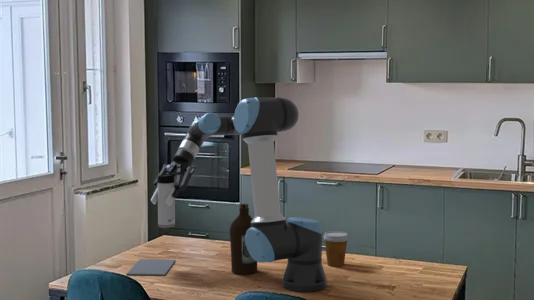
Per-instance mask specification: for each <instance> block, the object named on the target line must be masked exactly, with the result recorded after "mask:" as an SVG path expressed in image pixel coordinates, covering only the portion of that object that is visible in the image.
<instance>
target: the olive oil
mask: <svg viewBox="0 0 534 300" xmlns="http://www.w3.org/2000/svg"><path fill="white" fill-rule="evenodd" d="M249 212H250V208H249V204H248V203H240V204H239V214H238V215H237V217H236V218H235V219H234V220H233V221H232V222H231V224H230V227H229V239H230V243H229V244H230V258H231V259H230V261H231V263H230V265H231V272H232V273H233V274H236V275H240V276H245V275H246V276H247V275H249V276H250V275H253V274H256V273H257V272H258V262H257V261H255V260H254V259H253V258H252V257H251V255H250V254H249V252H248V250H247V247H246V242H245V235H246V232H247V230H248V229H249V228H251V221H252V220H253V219H254V218H252V216H251V215H250V213H249Z"/></svg>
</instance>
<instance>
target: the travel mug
mask: <svg viewBox="0 0 534 300" xmlns="http://www.w3.org/2000/svg"><path fill="white" fill-rule="evenodd" d="M158 175H159V174H158ZM158 175H157V176H158ZM175 176H176V175H175V173H173V174H163V175H159V176H158V200H157V226H158V227H159V228H161V229H170V228H174V227H175V226H176V206H175V205H176V198H174V200H173V202H172V204H171V206H168V205H167V203H166V200H167V198H168V196H169V194H170V192H171V190H172V189H173V188H175V185H176V181H175Z"/></svg>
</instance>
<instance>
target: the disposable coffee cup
mask: <svg viewBox="0 0 534 300" xmlns="http://www.w3.org/2000/svg"><path fill="white" fill-rule="evenodd" d="M322 239H323V240H324V246H325V256H326V264H327V266H329V267H334V268H339V267H341V268H342V267H344V266H345V260H346V254H347V253H346V251H347V245H348V239H349V236H348V233H347V232H344V231H337V230H336V231H326V232H324V235H323V236H322Z"/></svg>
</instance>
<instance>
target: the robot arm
mask: <svg viewBox="0 0 534 300" xmlns="http://www.w3.org/2000/svg"><path fill="white" fill-rule="evenodd" d="M299 114H300V113H299V110H298V107H297V106H296V104H295V103H294V102H293V101H292V100H290V99H288V98H285V97H279V96H278V97H248V98H244V99H241V100H240V101H239V102H238V104H237V106H236V108H235V111H234V115H217V113H213V112H207V113H205V114H203V115H202V116H200V118H199V119H197V120H196V119H195V120H194V121H192V123H191V125H189V127H188V130H187V132H186V134H185V136H184V138H183V139H182V141H181V143H180V145H179V146H178V148H177V151H176V152H175V154H174V156H173V158H172V159H173V160H172V162H171V163H170V164H166V163H164V164H163V165H162V168H161V170H160V172H159V174H158V175H157V176H156V178H155V180H154V181H153V185H154V186H155V188H154V190H153V192H152V194H153V195H152V196H151V198H150V202H151V203H152V204H153V205H156V204H157V203H158V176H159V175H163V174H173V173H175V176H176V180H175V188H173V189H172V190H171V192H170V194H169V196H168V198H167V200H166V203H167V205H168V206H171V204H172V202H173V200H174V198H175V199H177V197H178V195H179V193H180V192H181V191H183V192H184V191H186V189H187V188H188V185H189V182H190V180H191V177H192V175H193V174H194V173H195V171H196V170H195V169H194V167H193V166H192V165H193V163H194V162H195V159H196V157H197V155H198V153H199V152H200V150H201V148H202V146H203V143H204V142H205V141H206V140H208V138H210V137H214V136H215V137H216V136H234V135H235V136H242V140H243V141H244V142H245V144H247V147H248V148H247V149H248V157H249V159H248V160H249V167H250V169H249V170H250V171H249V172H250V178H251V179H250V180H251V181H250V182H251V189H252V200H253V210H254V217H253V218H252V219H253V220H252V221H251V228H249V229H248V230H247V232H246V235H245V242H246V247H247V250H248V252H249V254H250V255H251V257H252V258H253V259H254V260H255V261H257V263H259V264H260V263H273V262H276V261H282V260H287V263H286V267H285V270H284V273H283V276H282V278H281V279H282V282H281V283H282V284H281V285H282V287H283V288H285V289H286V290H289V291H294V292H303V293H304V292H305V293H306V292H307V293H308V292H309V293H310V292H316V291H322V290H324V289H326V288H327V285H328V284H327V283H328V281H327V280H328V279H327V275H326V271H325V270H324V267H323V264H322V262H323V261H322V256H323V250H322V249H323V242H322V240H323V229H322V228H323V227H322V223H321V222H320V221H319V220H317V219H314V218H307V217H301V216H300V217H299V216H297V217H296V216H293V217H292V216H291V217H287V219H286V217H285V216H284V215H283V214H282V213H281V204H280V195H279V186H278V185H279V184H278V174H277V173H278V172H277V163H276V154H275V144H274V142H275V140H277V138H278V135H279V134H278V133H279V132H280V133H281V132H287V131H289V130H291V129H293V128H294V127H295V126H296V125H297V122H298V121H299Z"/></svg>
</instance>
